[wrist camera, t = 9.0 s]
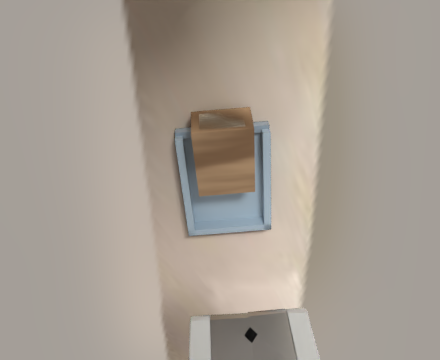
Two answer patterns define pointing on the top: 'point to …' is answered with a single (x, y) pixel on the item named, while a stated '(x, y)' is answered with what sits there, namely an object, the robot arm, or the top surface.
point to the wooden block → (223, 151)
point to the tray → (227, 203)
